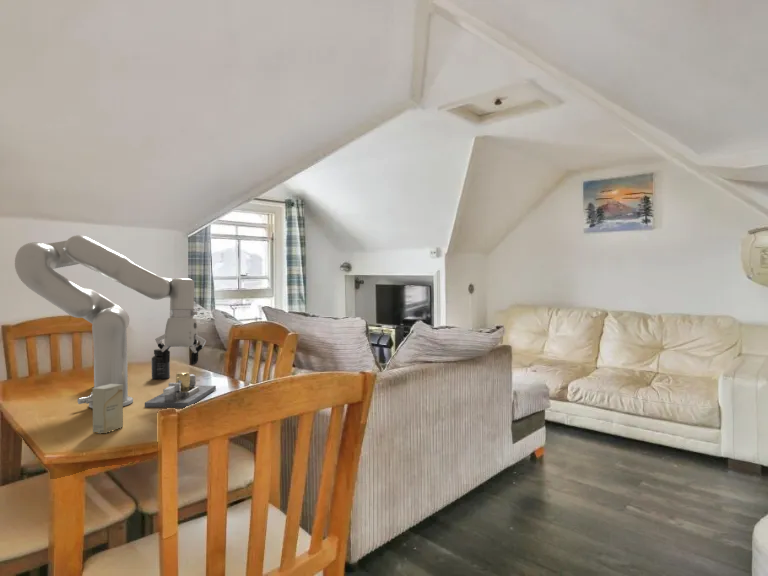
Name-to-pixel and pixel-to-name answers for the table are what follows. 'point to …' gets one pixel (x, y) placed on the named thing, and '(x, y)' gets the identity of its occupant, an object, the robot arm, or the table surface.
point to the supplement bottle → (159, 366)
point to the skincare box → (107, 408)
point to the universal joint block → (183, 381)
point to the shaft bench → (180, 395)
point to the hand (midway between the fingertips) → (180, 363)
